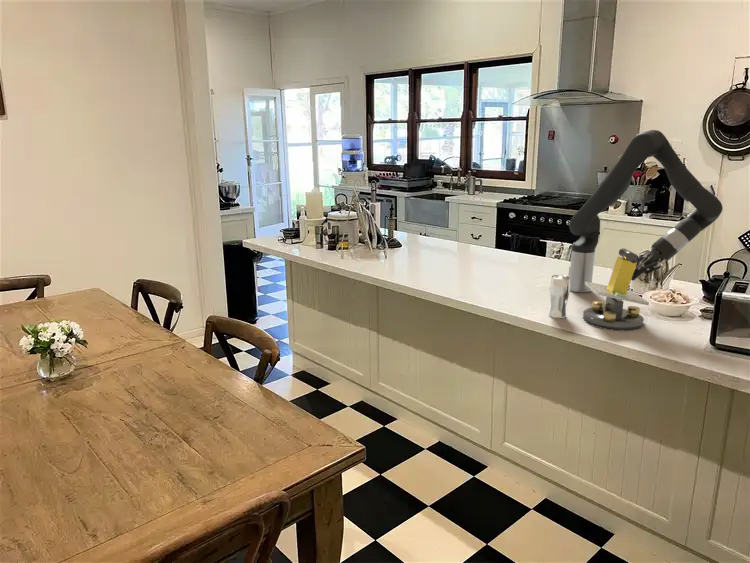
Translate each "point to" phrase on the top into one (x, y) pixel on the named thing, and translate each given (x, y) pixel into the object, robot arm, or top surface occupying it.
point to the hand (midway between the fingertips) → (630, 278)
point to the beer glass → (559, 295)
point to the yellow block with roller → (620, 279)
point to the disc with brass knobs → (613, 315)
